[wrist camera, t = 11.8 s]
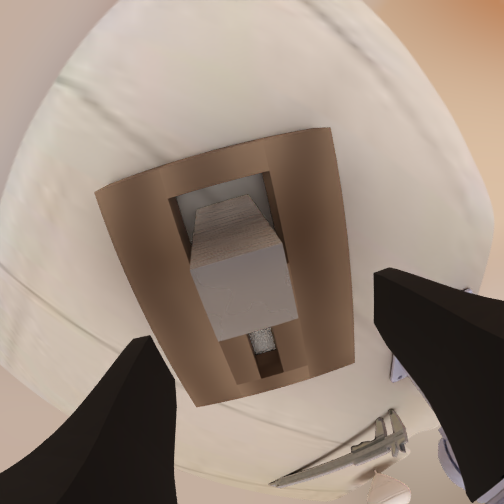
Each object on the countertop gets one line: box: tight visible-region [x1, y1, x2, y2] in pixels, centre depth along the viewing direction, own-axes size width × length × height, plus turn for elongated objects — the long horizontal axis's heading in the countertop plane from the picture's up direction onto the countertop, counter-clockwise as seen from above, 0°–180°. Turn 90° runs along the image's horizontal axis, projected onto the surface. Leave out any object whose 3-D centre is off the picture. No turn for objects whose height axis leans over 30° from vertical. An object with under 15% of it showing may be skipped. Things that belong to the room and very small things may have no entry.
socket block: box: [94, 127, 355, 407], centre depth 17 cm, size 12×16×2 cm
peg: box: [190, 194, 298, 342], centre depth 13 cm, size 3×3×8 cm
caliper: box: [268, 410, 408, 488], centre depth 27 cm, size 20×1×6 cm, turn 136°
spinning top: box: [367, 470, 411, 504], centre depth 31 cm, size 8×8×12 cm
